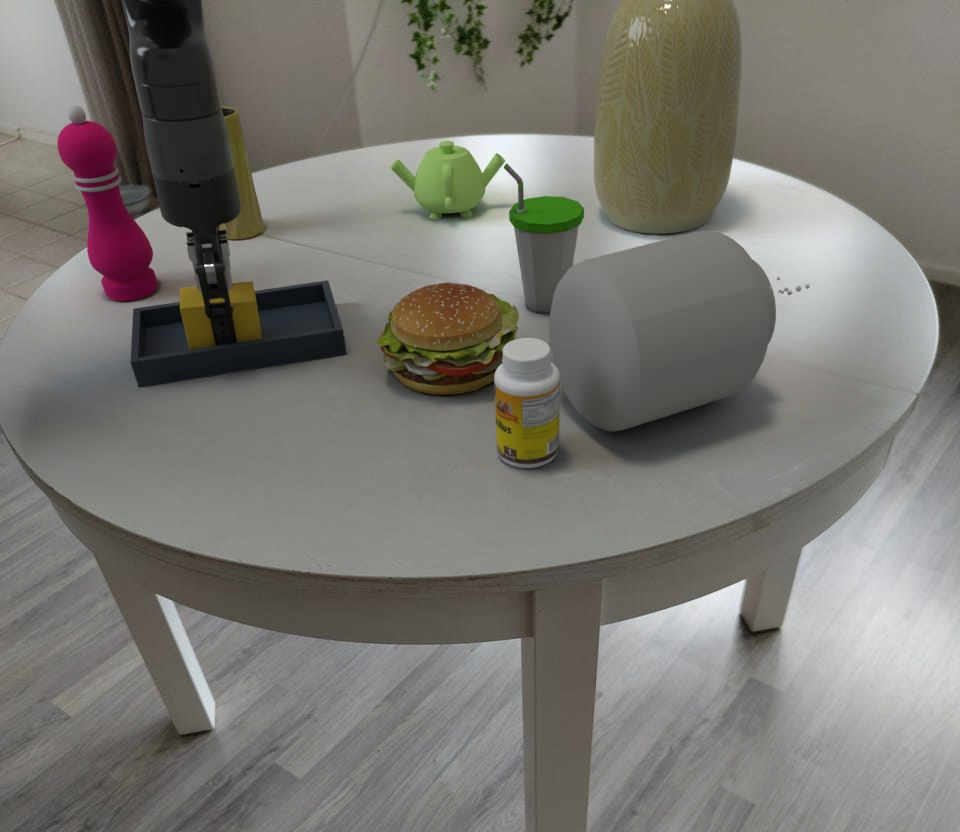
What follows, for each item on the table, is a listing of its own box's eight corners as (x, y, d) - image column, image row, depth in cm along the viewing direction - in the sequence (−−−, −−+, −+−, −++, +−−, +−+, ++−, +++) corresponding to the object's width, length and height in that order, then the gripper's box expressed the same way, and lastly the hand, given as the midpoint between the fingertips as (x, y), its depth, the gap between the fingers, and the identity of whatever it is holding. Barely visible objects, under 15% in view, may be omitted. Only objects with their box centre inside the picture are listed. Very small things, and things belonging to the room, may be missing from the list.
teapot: (450, 233, 121) (445, 163, 115) (390, 213, 126) (383, 145, 121) (509, 207, 126) (507, 139, 120) (449, 188, 132) (444, 123, 126)
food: (482, 417, 89) (478, 339, 83) (360, 386, 94) (348, 310, 88) (546, 352, 97) (546, 277, 92) (430, 327, 102) (424, 254, 97)
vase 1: (210, 238, 123) (181, 118, 113) (232, 220, 127) (206, 103, 117) (252, 241, 122) (226, 121, 112) (273, 223, 126) (250, 105, 116)
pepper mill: (104, 281, 115) (43, 100, 101) (164, 274, 116) (112, 93, 102) (98, 307, 110) (33, 119, 96) (161, 299, 111) (105, 112, 96)
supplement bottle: (491, 441, 86) (486, 337, 79) (550, 432, 86) (550, 328, 79) (504, 475, 82) (500, 369, 75) (565, 466, 83) (568, 359, 75)
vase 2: (617, 184, 130) (630, -54, 111) (740, 199, 124) (776, -50, 105) (571, 230, 119) (576, -25, 100) (703, 249, 114) (735, -19, 95)
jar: (522, 314, 93) (754, 239, 95) (568, 457, 94) (796, 380, 96) (555, 247, 74) (843, 154, 76) (613, 426, 76) (895, 331, 77)
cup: (593, 297, 106) (599, 155, 95) (558, 326, 101) (560, 180, 91) (534, 283, 109) (533, 144, 98) (498, 311, 104) (493, 168, 94)
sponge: (191, 358, 97) (179, 308, 94) (191, 337, 101) (179, 287, 97) (264, 351, 99) (255, 300, 95) (261, 330, 102) (252, 280, 98)
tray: (138, 387, 96) (130, 362, 94) (140, 332, 105) (133, 308, 103) (346, 354, 99) (343, 329, 97) (332, 303, 108) (328, 279, 106)
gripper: (151, 141, 91) (188, 309, 103) (149, 193, 81) (191, 372, 93) (229, 136, 93) (257, 302, 105) (237, 187, 83) (267, 364, 95)
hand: (225, 334), depth 99 cm, fingers closed on sponge, 4 cm apart
